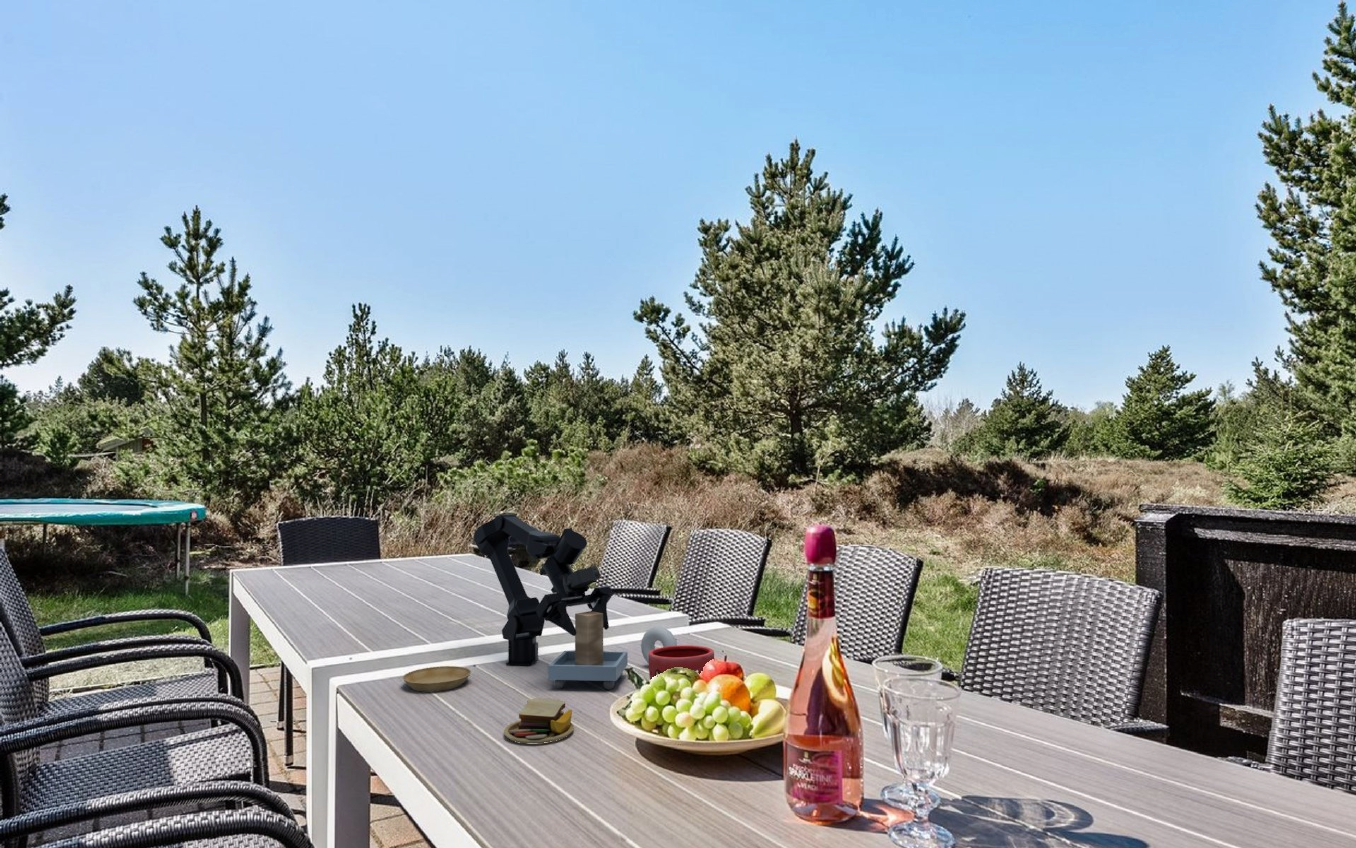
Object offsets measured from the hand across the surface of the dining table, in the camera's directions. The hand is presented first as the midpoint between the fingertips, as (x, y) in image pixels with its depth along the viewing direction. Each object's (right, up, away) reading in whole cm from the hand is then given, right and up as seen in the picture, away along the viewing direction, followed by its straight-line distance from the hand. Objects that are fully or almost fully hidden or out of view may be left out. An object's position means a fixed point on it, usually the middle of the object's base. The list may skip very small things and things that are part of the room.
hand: (591, 631), depth 174 cm
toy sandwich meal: (-6, -10, -33) cm, 35 cm away
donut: (+15, -12, +12) cm, 23 cm away
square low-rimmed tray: (-1, -12, 0) cm, 11 cm away
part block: (-1, -8, 0) cm, 8 cm away
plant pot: (+20, -10, -22) cm, 31 cm away
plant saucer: (-35, -12, 0) cm, 37 cm away
